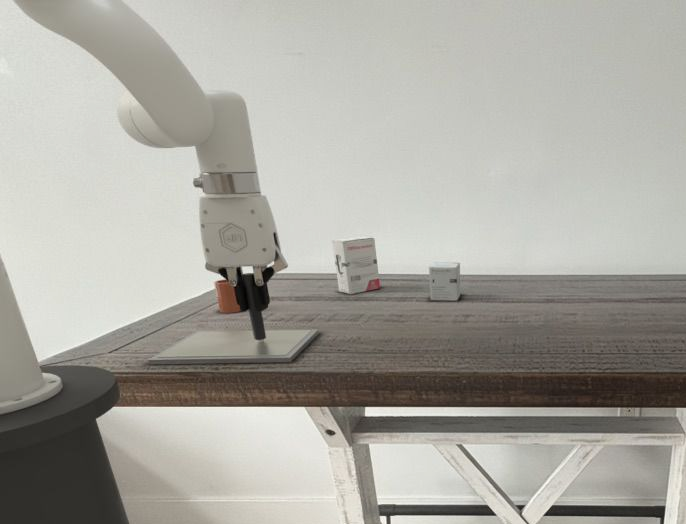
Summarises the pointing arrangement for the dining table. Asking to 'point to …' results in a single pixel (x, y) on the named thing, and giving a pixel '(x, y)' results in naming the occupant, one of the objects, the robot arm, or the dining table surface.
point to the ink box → (356, 264)
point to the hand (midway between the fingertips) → (254, 308)
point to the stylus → (253, 308)
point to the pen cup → (226, 297)
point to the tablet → (236, 347)
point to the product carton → (444, 281)
